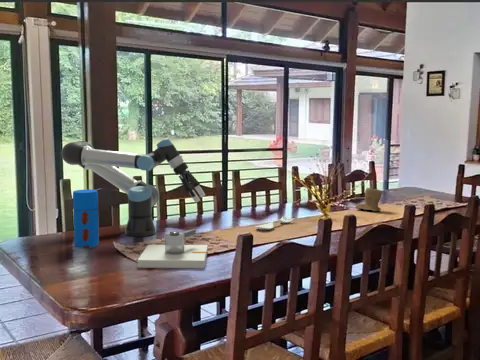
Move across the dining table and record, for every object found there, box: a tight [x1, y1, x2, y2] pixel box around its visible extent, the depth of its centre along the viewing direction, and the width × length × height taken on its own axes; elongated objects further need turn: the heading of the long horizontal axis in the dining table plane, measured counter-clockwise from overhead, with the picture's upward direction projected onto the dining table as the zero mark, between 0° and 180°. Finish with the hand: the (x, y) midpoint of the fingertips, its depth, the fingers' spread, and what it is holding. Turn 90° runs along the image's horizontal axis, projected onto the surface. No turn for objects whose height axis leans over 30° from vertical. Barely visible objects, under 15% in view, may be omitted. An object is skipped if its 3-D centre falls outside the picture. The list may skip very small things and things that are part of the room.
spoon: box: [254, 215, 297, 231], centre depth 270 cm, size 9×32×4 cm, turn 144°
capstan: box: [164, 228, 196, 254], centre depth 207 cm, size 18×8×8 cm, turn 151°
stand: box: [137, 244, 209, 269], centre depth 204 cm, size 26×24×3 cm
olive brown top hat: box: [354, 187, 383, 212], centre depth 320 cm, size 15×12×15 cm
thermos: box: [72, 189, 100, 249], centre depth 224 cm, size 11×11×25 cm
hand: (200, 198), depth 259 cm, fingers open, 13 cm apart
